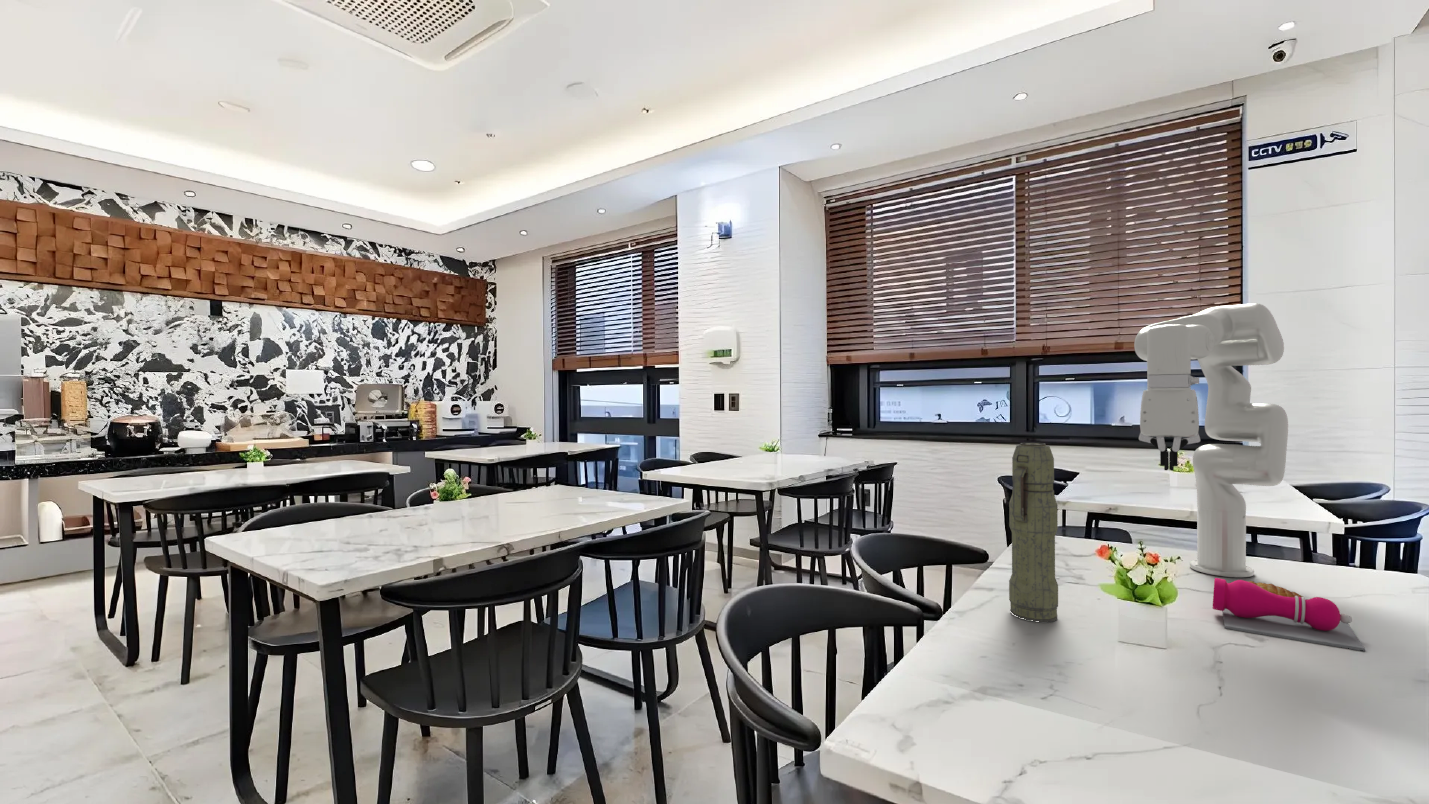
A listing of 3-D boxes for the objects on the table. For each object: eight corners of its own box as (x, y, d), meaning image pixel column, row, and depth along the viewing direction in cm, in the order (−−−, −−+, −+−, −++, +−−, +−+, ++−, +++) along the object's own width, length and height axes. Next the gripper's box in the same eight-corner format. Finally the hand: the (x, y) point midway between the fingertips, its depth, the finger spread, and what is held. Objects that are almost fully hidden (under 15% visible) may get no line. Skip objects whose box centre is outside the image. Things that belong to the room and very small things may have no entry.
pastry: (1302, 602, 137) (1302, 584, 137) (1305, 611, 132) (1305, 593, 132) (1245, 594, 143) (1245, 577, 143) (1246, 602, 138) (1246, 584, 137)
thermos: (998, 616, 130) (997, 444, 129) (1023, 603, 138) (1023, 440, 137) (1044, 628, 123) (1043, 446, 123) (1067, 613, 131) (1067, 442, 131)
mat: (1221, 606, 134) (1221, 604, 134) (1347, 625, 123) (1347, 622, 123) (1224, 628, 122) (1224, 625, 122) (1365, 651, 111) (1365, 648, 111)
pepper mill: (1214, 576, 133) (1349, 600, 120) (1212, 612, 132) (1348, 640, 119) (1214, 573, 127) (1356, 598, 115) (1212, 610, 126) (1354, 640, 114)
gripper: (1212, 382, 134) (1212, 469, 135) (1128, 384, 143) (1128, 465, 144) (1213, 382, 128) (1214, 474, 129) (1125, 384, 137) (1126, 469, 138)
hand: (1169, 469), depth 136 cm, fingers closed
